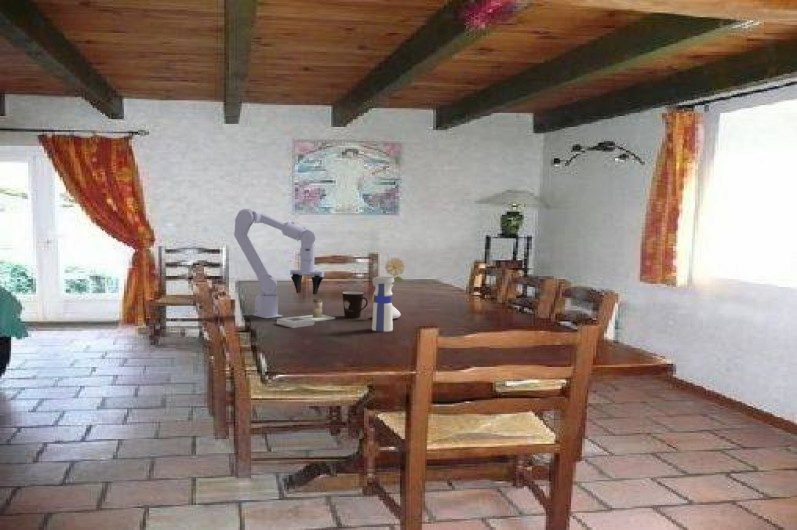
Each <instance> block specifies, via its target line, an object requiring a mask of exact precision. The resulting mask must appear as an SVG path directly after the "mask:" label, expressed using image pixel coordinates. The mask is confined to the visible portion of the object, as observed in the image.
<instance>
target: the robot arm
mask: <svg viewBox="0 0 797 530" xmlns="http://www.w3.org/2000/svg"><path fill="white" fill-rule="evenodd" d="M260 223H261V224H265V225H267V226H270V227H273V228H275V229H277V230H280V231H281V232H282V233H281V234H282V235H283V236H285V237H288V238H290V239H293V240H294V241H297V242H298V241H300V248H299V252H300V254H299V269H290V271H289V272H290V273H289V274H290V275H291V276H290V278H291V280H292V282H293V284H294V287H295V291H296V294H300V293H301V291H302V280H303V276H304V277H305V276H308V277H311V280H312V281H311V282H312V295H315V296H316V295H317V294H318V291H319V287H320V286H321V283H322V281H323V279H324V277H325V271H320V270H318V271H317V270H315V259H316V257H315V250H316V249H315V240H316V235H315V233H314V232H313V231H312V230H310V229H307V227H305V226H300V225H298V224H296V222H295V221H287V222H282V221H280V220H278V219H276V218H274V217H272V216H270V215H267V214H265V213H263V212H259V211H256V210H252V209H249V208H248V209H247V208H244V209H241V210H239V211H238V212H237V214H236V216H235V219H234V232H233V234H234V238H235V239H236V241H237V244H238V245H239V247H240V249H241V251H242V252H243V254H244V256H245V257H246V259H247V261H248V263H249V265H250V266H251V268H252V270H253V272H254V273H255V275H256V278H257V281H258V283H259V288H260V292H259V294H257V295H256V296H255V300H254V313H253V314H252V316H254V317H257V318H258V317H259V318H261V319H262V318H263V319H271V318H283V314H279V293H278V292H277V291H276V290H277V288H278V281H277V279H276V278H275V277H273V276H272V275H271V274H270V271H269V270H268V268H267V267H266V265H265V264H264V262H263V260H262V258H261V257H260V254H259V253H258V251H257V249H256V248H255V246H254V243H253V241H252V240H251V239H250V236H249V235H248V234H249V231H250V229H251V226H252V225H253V224H260Z"/></svg>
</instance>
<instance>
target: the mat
mask: <svg viewBox="0 0 797 530" xmlns="http://www.w3.org/2000/svg"><path fill="white" fill-rule="evenodd" d="M299 316H300V315H299ZM300 317H304V318H309V319H313V320H315V322H323V321H330V320H336V317H335V316H331V315H330V316H329V315H326V314H322V317H321V318H314V317H313V314H310V315H301V316H300Z"/></svg>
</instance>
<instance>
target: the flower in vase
mask: <svg viewBox="0 0 797 530" xmlns="http://www.w3.org/2000/svg"><path fill="white" fill-rule="evenodd" d="M384 266H385V267H384V269H385V270H386V274H389V275H391V276H392V277H393V278H394V282H395V283H402V282H404V279H403V278H402V277H401V276H399V275H402V274H404V271H405V270H406V265H405V263H404V260H403V259H401V258H399V257H398V258H397V257H394V258H392V257H391V259H388V260H387V261H386V264H385V265H384ZM393 287H394V284H392V285H391V290H392V288H393ZM392 307H393V314H392V320H394V319H397V318H400V317H401V315H402V314H401V312H400V311H399V310H398V309H397V308H396V307H395V306H394V305H393V304H392Z"/></svg>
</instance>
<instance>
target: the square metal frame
mask: <svg viewBox="0 0 797 530" xmlns="http://www.w3.org/2000/svg"><path fill="white" fill-rule="evenodd" d="M315 322H316V321H315V320H313V319H309V318H304V317H300V315H299V316H292V317H291V316H290V317H278V318H276V325H278V326H279V325H280V326H283V327H287V328H291V329H294V328H302V327H312V326H315Z"/></svg>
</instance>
